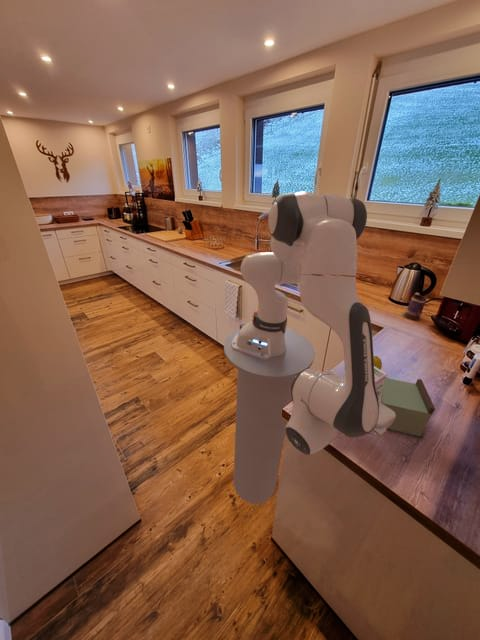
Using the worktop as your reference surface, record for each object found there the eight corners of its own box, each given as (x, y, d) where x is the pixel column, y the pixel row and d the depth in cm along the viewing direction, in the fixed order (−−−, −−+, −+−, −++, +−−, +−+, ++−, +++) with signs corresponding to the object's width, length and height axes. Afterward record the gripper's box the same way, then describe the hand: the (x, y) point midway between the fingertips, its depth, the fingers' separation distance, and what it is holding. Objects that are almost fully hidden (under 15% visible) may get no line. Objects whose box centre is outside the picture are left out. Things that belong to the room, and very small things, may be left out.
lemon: (378, 380, 94) (385, 362, 90) (362, 376, 96) (368, 358, 92) (377, 371, 99) (384, 353, 95) (362, 367, 100) (367, 350, 97)
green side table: (374, 425, 77) (385, 398, 71) (368, 396, 87) (378, 370, 82) (420, 436, 74) (435, 408, 69) (409, 405, 84) (421, 379, 79)
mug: (420, 321, 135) (429, 300, 129) (405, 318, 138) (413, 297, 132) (417, 313, 144) (425, 293, 138) (402, 310, 146) (410, 290, 140)
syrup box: (373, 411, 76) (388, 373, 69) (360, 420, 74) (375, 381, 66) (356, 399, 81) (369, 361, 73) (343, 406, 78) (356, 368, 71)
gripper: (382, 429, 57) (410, 401, 65) (309, 377, 71) (339, 359, 79) (374, 447, 60) (401, 419, 68) (305, 394, 74) (334, 375, 82)
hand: (367, 386), depth 73 cm, fingers closed on syrup box, 6 cm apart
